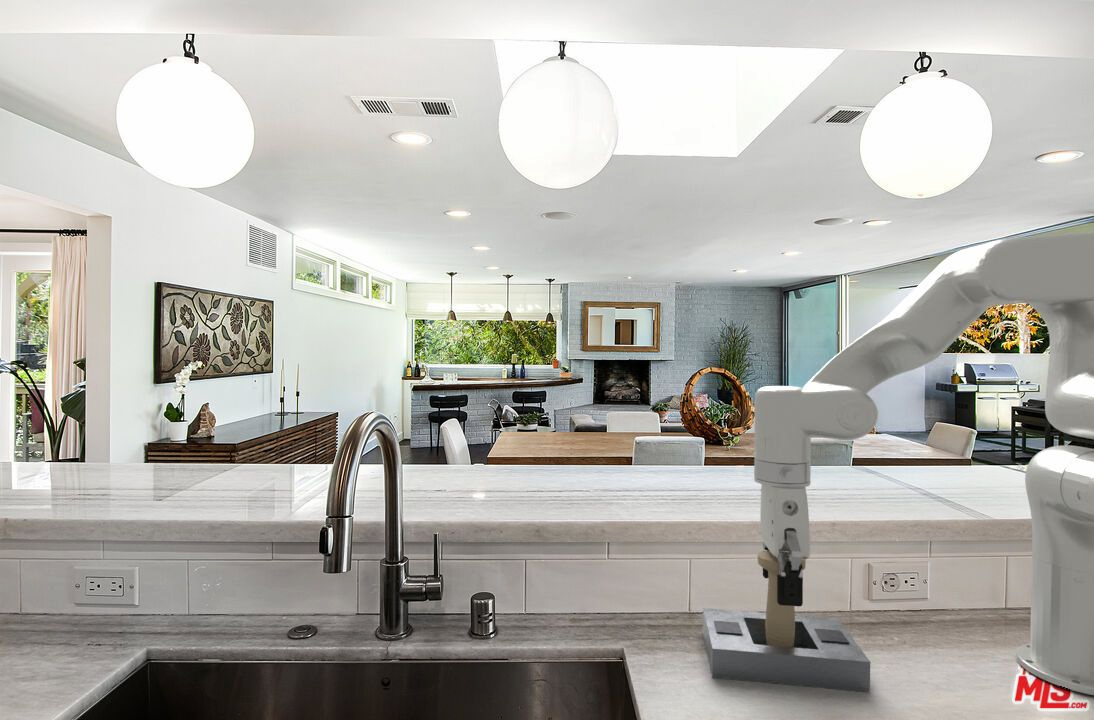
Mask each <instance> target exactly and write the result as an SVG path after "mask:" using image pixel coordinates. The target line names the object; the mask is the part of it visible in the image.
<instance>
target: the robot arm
mask: <svg viewBox="0 0 1094 720" xmlns="http://www.w3.org/2000/svg"><path fill="white" fill-rule="evenodd" d="M1013 304H1028V305H1029V306H1030V307H1032V309H1034V310H1035V311H1036V312H1037V314H1039V316H1040V317H1041V319H1042V320H1043V321H1044V324H1045V326H1046V327H1047V331H1048V335H1049V356H1048V369H1047V378H1046V389H1045V399H1044V411H1045V416H1046V418H1047V421H1048V422H1049V424H1051V426H1052V427H1053V428H1054V429H1056V430H1058V431H1060V432H1062V433H1065V434H1067V435H1070V436H1075V437H1079V438H1085V439H1091V440H1094V231H1090V232H1089V231H1087V232H1076V233H1074V232H1073V233H1064V234H1053V235H1051V234H1049V235H1036V236H1021V237H1019V236H1018V237H1011V238H1010V237H1009V238H1002V239H1001V238H1000V239H996V240H993V241H989V242H985V243H982V244H978V245H975V246H970V247H966V248H963V249H961V250H958V251H956V252H954V253H953V254H951V255H949V256H948V257H946V258H945V259H944V260H943V261H942V262H941V263H939V264H938V265H937V266H936V267H935V268H934V269H933V270H932V272H930V273H929V274H928V276H926V277H925V278H924V279H923V280H922V281H921V283H920V284H918V285H917V287H916V288H914V290H912V291H911V292H910V293H909V294H908V295H907V296H906V297H905V298H904V299H903V300H902V301H901V302H900V303H899V304H898V305H897V306H896V307H895V308H894V309H893V310H892V311H891V312H890V313H889V314H888V315H887V316H886V317H885V318H883V319H882V320H881V321H880V322H879V323H877V324H876V325H875V326H873V327H872V328H870V329H869V330H867V331H866V332H865V333H864V334H863V335H861V336H860V337H858V338H857V339H856V340H854V341H853V342H851V343H850V344H849V345H848V346H846V347H845V348H844V349H842V350H841V351H840V352H838V353H837V354H836V355H835V356H833V358H831V359H830V360H829V361H828V362H826V363H825V365H824V366H822V368H821V369H820V370H819V371H817V372H816V373H815V375H814V376H812V378H811V379H809V381H807V383H806V384H805V385H804V386H803V387H801V386H794V385H793V386H792V385H769V386H768V385H767V386H762V387H759V388H758V389H757V390H756V392H755V394H754V447H753V448H754V450H753V451H754V455H753V456H754V457H753V458H754V460H753V461H754V462H753V463H754V465H753V467H754V473H753V474H754V475H753V476H754V477H753V480H754V482H756V483H757V484H760V485H761V486H760V487H761V488H760V535H761V539H762V542H763V543H762V546H763V547H762V548H763V549H762V550H763V551H770V552H771V554H772V555H774V556H775V557H776V558H778V565H779V572H780V575H779V574H777V602H778V604H779V605H785V606H794V607H802V606H803V603H804V602H803V601H804V600H803V599H804V596H803V592H804V589H803V588H804V586H803V585H804V583H803V582H804V574H803V573H804V572H803V571H804V570H803V571H802V568H803V566H802V564H801V559H802V557H803V558H804V559H806V560H808V559H809V558H810V556H811V541H810V540H811V539H810V536H811V535H810V519H809V517H810V514H809V503H808V496H807V495H808V494H807V488H806V487H809V486H810V485H811V475H812V474H811V473H812V471H811V468H812V467H811V466H812V464H811V450H812V449H811V447H812V446H811V445H812V444H811V443H812V441H811V439H812V437H815V438H823V439H831V440H837V441H855V440H858V439H861V438H863V437H865V436H867V435H868V434H869V433H870V432H872V430H874V429H875V428H874V427H876V425H877V423H878V418H879V412H878V407H877V405H876V403H875V400H873V398H872V397H871V396H870V395H868V393H869V392H870V391H872V390H873V389H874V388H876V387H877V386H879V385H880V384H882V383H883V382H885V381H887V380H889V379H892V378H893V377H895V376H899V375H900V374H905V373H907V372H910V371H911V372H912V371H913V370H916V369H919V368H921V367H924V366H926V365H927V364H930V363H932V362H933V361H935V360H936V359H938V358H939V357H940V356H942V354H943V353H944V352H945V351H946V350H947V349H948V348H950V346H951V345H952V344H953V343H954V342H955V341H956V340H957V339H958V338H959V337H960V336H961V335H962V334H963V333H964V332H965V331H966V330H967V329H968V328H969V327H970V326H971V325H973V323H974V322H976V321H977V320H978V318H980V317H981V316H982V315H983V314H984V313H985V312H986V311H987V310H988V309H989V308H991V307H996V306H1003V305H1013ZM1024 474H1025V475H1024V476H1025V477H1024V483H1025V490H1026V494H1027V495H1026V496H1027V500H1028V505H1029V510H1030V517H1031V528H1032V529H1031V531H1032V532H1031V533H1032V541H1031V542H1032V543H1031V544H1032V547H1031V550H1032V551H1031V585H1030V586H1031V587H1030V588H1031V589H1030V592H1031V593H1030V595H1031V596H1030V597H1031V598H1030V631H1029V633H1030V637H1029V638H1030V639H1029V640H1030V641H1029V643H1027V644H1022V645H1019V646H1018V647H1017V649H1016V651H1015V652H1016V653H1015V658H1016V661H1017V662H1018V664H1019V665H1020V666H1021V667H1023V668H1024V669H1025V670H1026V671H1028V672H1029V673H1030V674H1032V675H1034V676H1036V677H1037V678H1039V679H1041V680H1043V681H1046V682H1048V683H1050V684H1053V685H1055V686H1058V687H1060V686H1062V687H1061V688H1063V687H1065V688H1064V689H1066V688H1068V689H1067V690H1069V689H1070V691H1072V692H1073V691H1074V692H1077V693H1081V694H1084V695H1085V694H1086V695H1088V696H1089V695H1090V696H1094V448H1090V447H1084V446H1079V445H1078V446H1077V445H1056V446H1050V447H1047V448H1044V449H1043V450H1041V451H1039V452H1038V453H1036V454H1035V455H1034V456H1033V457H1032V458H1031V459H1030V461H1029V463H1028V464H1027V467H1026V468H1025V473H1024ZM781 551H783V552H781ZM784 552H789V553H784ZM784 560H790V561H787V562H786V565H785V566H784ZM762 576H763V578H764V579H769V576H768V571H767V570H766V569H764V568H763V567H762Z"/></svg>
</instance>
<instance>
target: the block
mask: <svg viewBox="0 0 1094 720" xmlns="http://www.w3.org/2000/svg"><path fill="white" fill-rule="evenodd" d="M765 620H766V612H759V611H748V610H747V611H746V610H736V609H735V610H734V609H721V608H706V607H705V608H704V607H702V637H703V641H704V646H705V650H706V655H708V656H707V660H708V665H709V669H710V674H711V678H712V679H724V680H733V681H735V680H736V681H744V682H754V683H755V682H756V683H768V684H776V685H787V686H788V685H789V686H796V687H797V686H798V687H808V688H819V689H828V690H829V689H830V690H839V691H840V690H841V691H853V692H861V693H871V660H870V659H869V658H868V657H867V655H866V654H865V652H864V651H863V650H862V648H861V647H860V645H858V643H857V642H856V640H855V639H854V638H853V636H852V634H850V632H849V631H848V629H847V628H846V627H845V626H844V624H843V623H842V622H841V620H840V619H839V617H837V618H836V617H828V616H827V617H825V616H814V615H813V616H811V615H798V614H795V638H794V645H793V647H782V646H770V645H767V642H766V630H765V623H766V622H765Z"/></svg>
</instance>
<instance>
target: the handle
mask: <svg viewBox="0 0 1094 720" xmlns="http://www.w3.org/2000/svg"><path fill="white" fill-rule="evenodd" d="M781 552H784V553H789V552H787V551H781ZM787 561H790V560H784V566H785V565H786V562H787ZM806 561H807V559H804V558H803V557H802V559H801V564H802V566H803V568H802V571H804V570H805V569H806V563H807V562H806ZM757 564H758V565H759V566H760V567H761V568H762V569H763V568H764V569H766V570H767V571H768V576H769V578H768V581H767V582H768V584H767V598H766V606H765V608H766V609H765V613H766V620H765V622H766V623H765V630H766V642H767V645H770V646H782V647H793V645H794V638H795V615H796V614H795V606H785V605H779V604H778V602H777V574H779V575H780V572H779V565H778V558H776V557H775V556H774V555H772V554H771V552H770V551H767V550H761V551H758V552H757Z"/></svg>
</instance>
